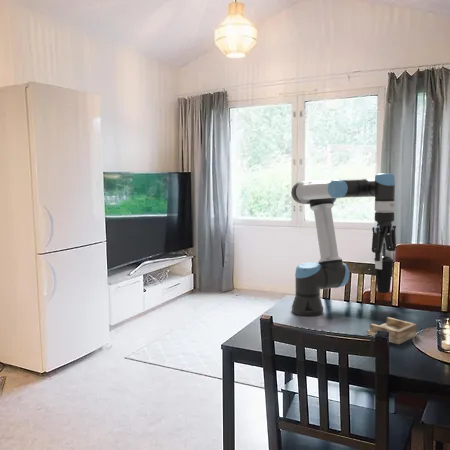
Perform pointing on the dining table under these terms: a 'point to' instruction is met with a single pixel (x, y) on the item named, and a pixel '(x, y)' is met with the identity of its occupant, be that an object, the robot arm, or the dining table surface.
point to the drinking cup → (384, 273)
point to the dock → (395, 330)
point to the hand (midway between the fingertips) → (383, 267)
